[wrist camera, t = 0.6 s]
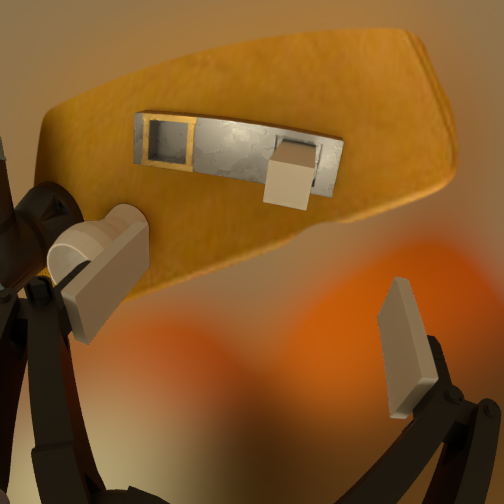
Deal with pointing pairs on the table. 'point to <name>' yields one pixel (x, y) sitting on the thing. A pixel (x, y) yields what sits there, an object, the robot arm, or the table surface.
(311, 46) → the table surface
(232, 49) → the table surface
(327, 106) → the table surface
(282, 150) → the peg
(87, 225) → the cup
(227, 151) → the grey peg hole board
